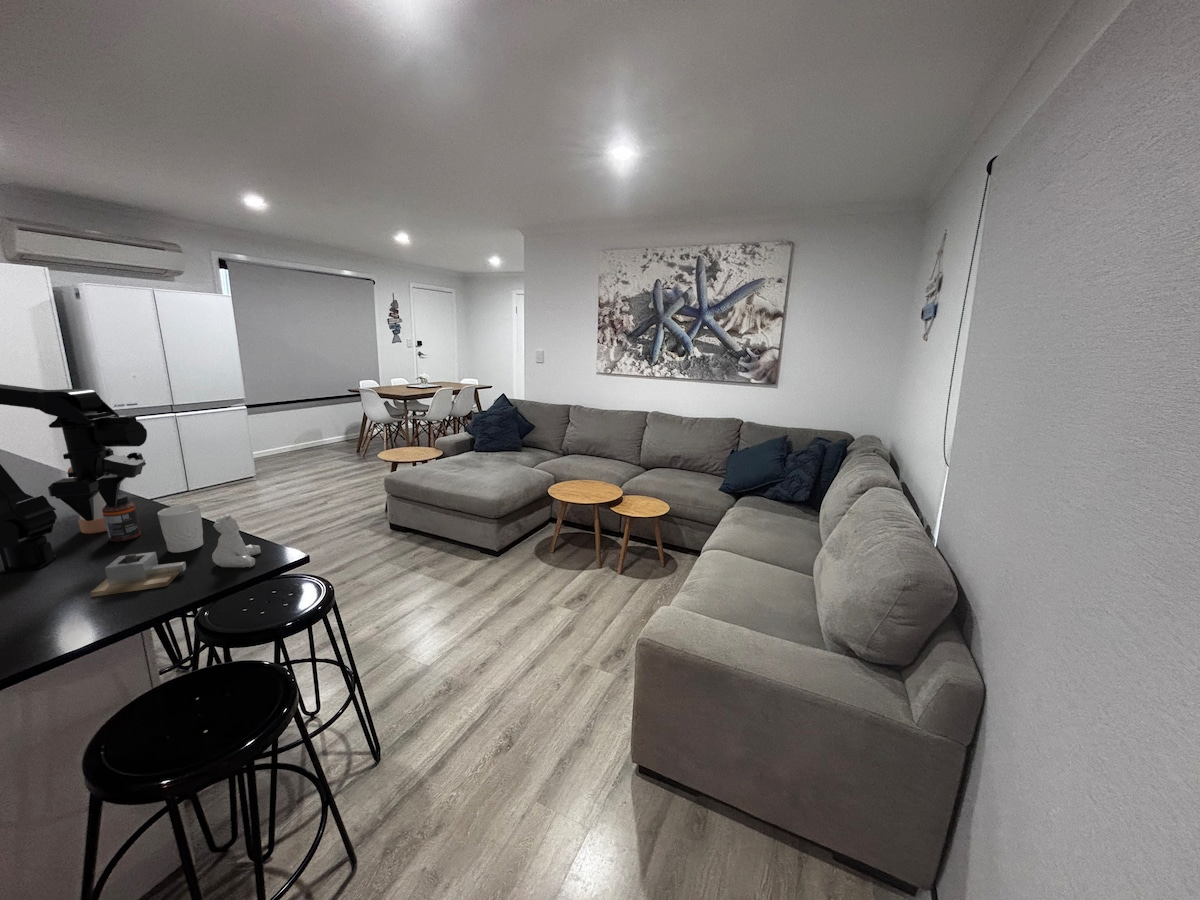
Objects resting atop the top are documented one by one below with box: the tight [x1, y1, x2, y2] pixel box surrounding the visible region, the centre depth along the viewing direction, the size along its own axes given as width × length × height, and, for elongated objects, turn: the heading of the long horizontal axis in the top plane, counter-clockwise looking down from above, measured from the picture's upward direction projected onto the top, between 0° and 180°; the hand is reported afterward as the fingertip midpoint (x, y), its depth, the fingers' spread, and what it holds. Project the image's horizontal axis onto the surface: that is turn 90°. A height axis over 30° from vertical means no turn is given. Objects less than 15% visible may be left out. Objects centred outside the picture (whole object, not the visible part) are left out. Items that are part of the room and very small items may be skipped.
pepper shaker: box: [66, 466, 107, 534], centre depth 124 cm, size 7×7×19 cm
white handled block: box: [104, 551, 187, 586], centre depth 101 cm, size 12×6×4 cm, turn 114°
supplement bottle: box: [102, 494, 142, 543], centre depth 120 cm, size 6×6×11 cm
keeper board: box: [90, 553, 187, 598], centre depth 100 cm, size 12×10×6 cm
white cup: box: [156, 504, 204, 553], centre depth 116 cm, size 8×8×10 cm
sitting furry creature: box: [211, 513, 261, 568], centre depth 108 cm, size 10×9×12 cm
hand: (101, 513), depth 106 cm, fingers open, 9 cm apart
